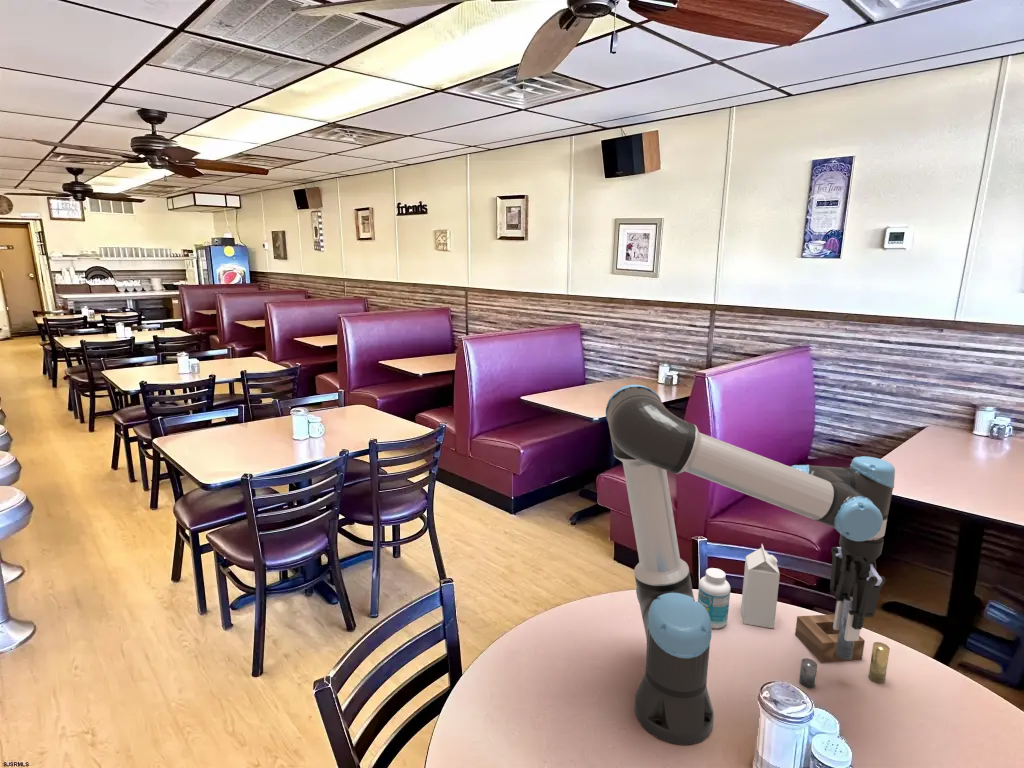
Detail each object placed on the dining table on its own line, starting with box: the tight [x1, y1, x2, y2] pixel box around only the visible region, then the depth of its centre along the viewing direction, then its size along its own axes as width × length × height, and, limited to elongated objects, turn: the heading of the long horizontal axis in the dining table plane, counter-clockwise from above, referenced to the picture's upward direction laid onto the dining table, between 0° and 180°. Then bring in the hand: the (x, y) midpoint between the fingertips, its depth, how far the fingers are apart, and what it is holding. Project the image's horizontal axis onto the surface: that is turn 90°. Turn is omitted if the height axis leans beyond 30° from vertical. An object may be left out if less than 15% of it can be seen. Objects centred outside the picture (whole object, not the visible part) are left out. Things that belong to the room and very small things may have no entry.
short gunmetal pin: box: [798, 657, 818, 689], centre depth 121 cm, size 3×3×5 cm
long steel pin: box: [836, 596, 854, 660], centre depth 120 cm, size 3×3×13 cm
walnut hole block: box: [794, 613, 865, 663], centre depth 133 cm, size 10×10×5 cm
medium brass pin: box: [868, 641, 891, 685], centre depth 123 cm, size 3×3×8 cm
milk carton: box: [740, 543, 781, 629], centre depth 143 cm, size 7×7×19 cm
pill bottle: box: [697, 567, 731, 630], centre depth 142 cm, size 8×7×14 cm
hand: (845, 633), depth 120 cm, fingers closed on long steel pin, 3 cm apart
